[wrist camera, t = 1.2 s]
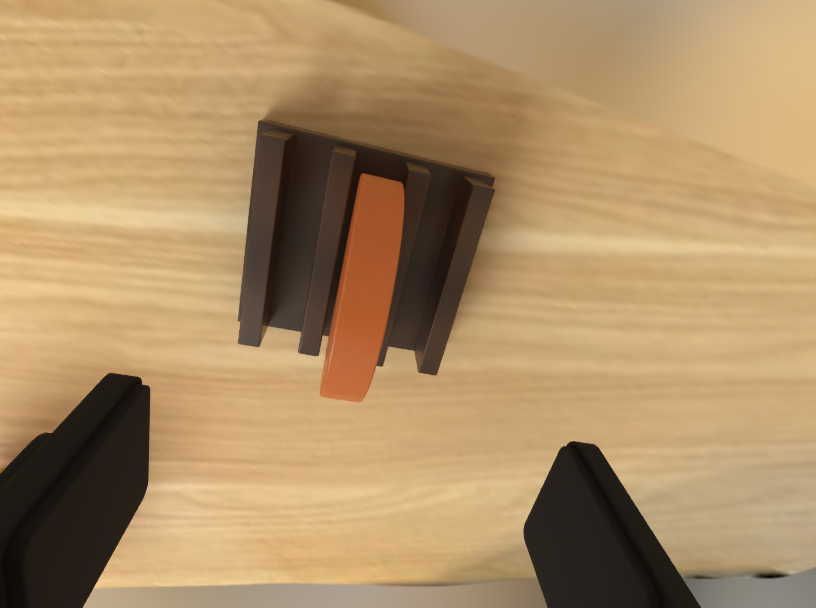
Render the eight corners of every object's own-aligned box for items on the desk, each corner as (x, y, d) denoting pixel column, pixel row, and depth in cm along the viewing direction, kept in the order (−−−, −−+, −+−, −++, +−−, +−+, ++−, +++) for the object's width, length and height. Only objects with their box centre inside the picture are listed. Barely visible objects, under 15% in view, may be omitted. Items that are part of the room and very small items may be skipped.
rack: (262, 118, 21) (244, 124, 18) (490, 174, 23) (510, 188, 20) (242, 312, 25) (224, 345, 22) (437, 346, 27) (447, 381, 24)
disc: (362, 157, 21) (359, 202, 13) (396, 165, 21) (414, 214, 13) (329, 328, 25) (311, 447, 17) (358, 333, 25) (355, 453, 17)
